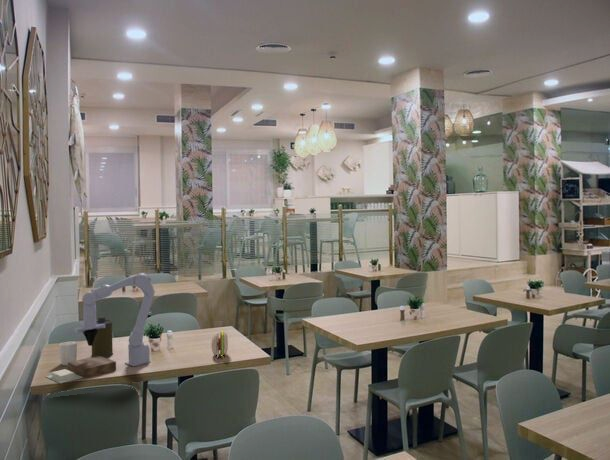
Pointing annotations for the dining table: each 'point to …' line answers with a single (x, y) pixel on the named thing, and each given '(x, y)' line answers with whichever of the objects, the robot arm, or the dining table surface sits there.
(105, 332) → the canister
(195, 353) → the dining table surface
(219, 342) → the hamburger
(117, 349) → the dining table surface
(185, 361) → the dining table surface
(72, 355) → the white cup
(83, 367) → the board
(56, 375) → the card
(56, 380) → the mat
